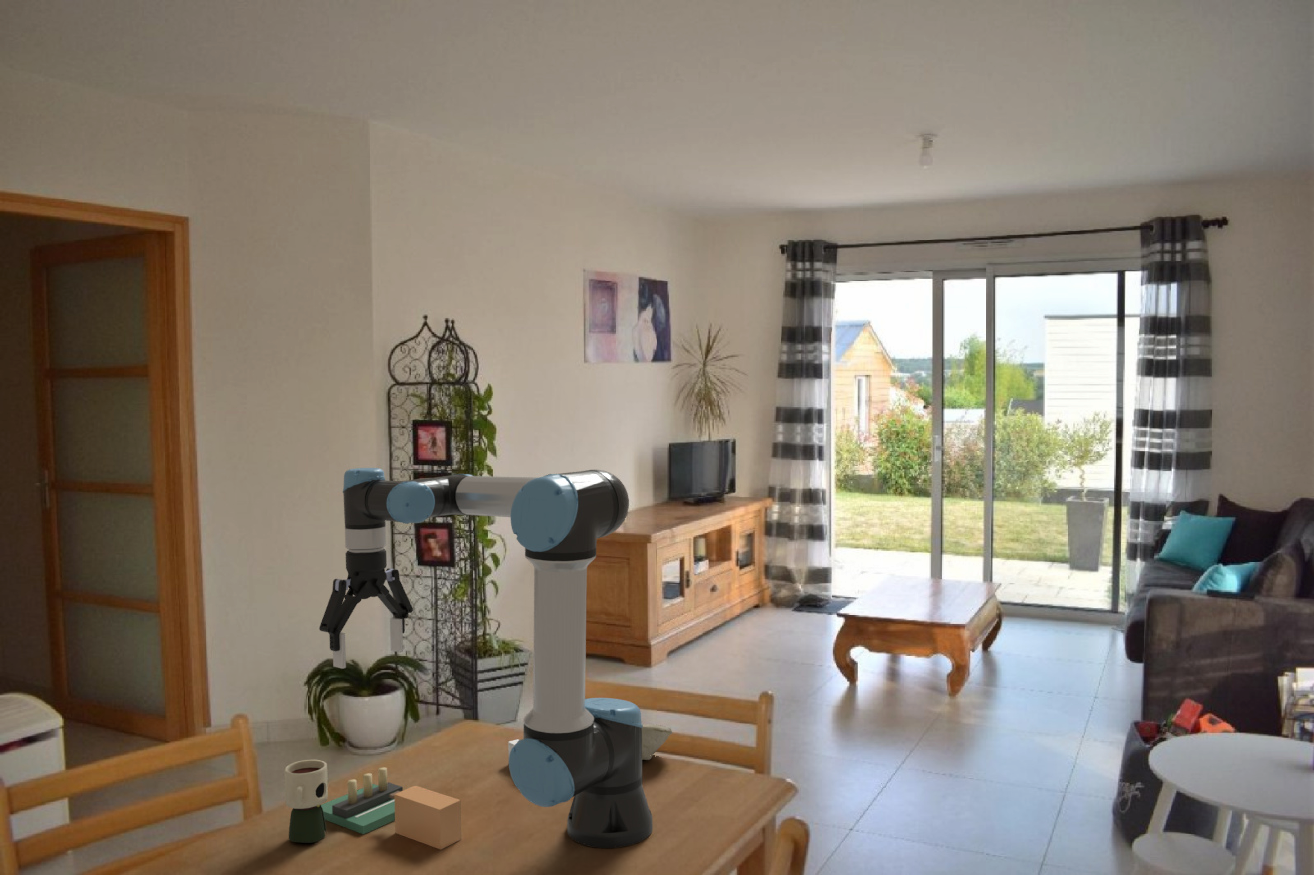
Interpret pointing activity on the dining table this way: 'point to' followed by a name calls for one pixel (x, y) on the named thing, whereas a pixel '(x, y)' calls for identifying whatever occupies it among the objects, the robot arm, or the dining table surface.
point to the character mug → (306, 799)
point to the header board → (361, 820)
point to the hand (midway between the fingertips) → (369, 659)
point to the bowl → (653, 739)
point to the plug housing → (427, 816)
